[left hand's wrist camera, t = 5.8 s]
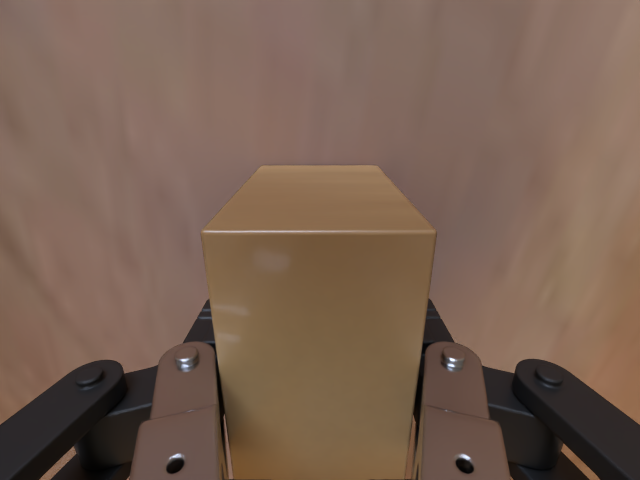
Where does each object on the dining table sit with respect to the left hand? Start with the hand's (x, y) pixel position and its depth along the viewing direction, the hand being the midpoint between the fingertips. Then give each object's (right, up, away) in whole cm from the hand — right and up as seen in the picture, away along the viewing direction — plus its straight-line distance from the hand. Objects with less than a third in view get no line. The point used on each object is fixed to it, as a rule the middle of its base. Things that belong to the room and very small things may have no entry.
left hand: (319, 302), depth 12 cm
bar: (0, -20, +10) cm, 22 cm away
